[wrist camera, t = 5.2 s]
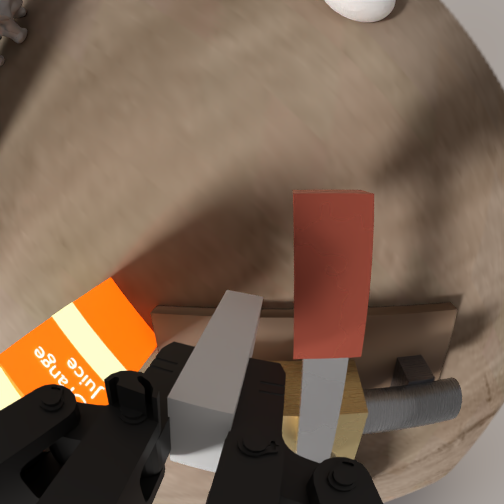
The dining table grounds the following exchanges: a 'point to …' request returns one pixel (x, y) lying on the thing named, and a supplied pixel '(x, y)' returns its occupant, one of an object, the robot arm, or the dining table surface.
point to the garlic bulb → (362, 9)
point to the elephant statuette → (11, 21)
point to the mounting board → (368, 365)
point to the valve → (377, 403)
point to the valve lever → (328, 304)
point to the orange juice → (78, 348)
